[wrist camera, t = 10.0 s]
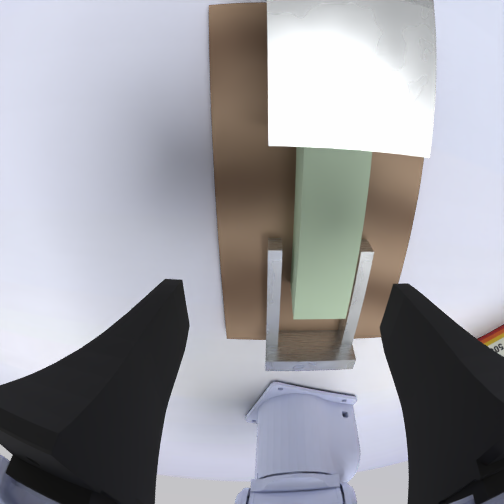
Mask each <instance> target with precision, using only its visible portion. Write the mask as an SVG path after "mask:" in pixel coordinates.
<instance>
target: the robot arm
mask: <svg viewBox="0 0 504 504" xmlns="http://www.w3.org/2000/svg"><path fill="white" fill-rule="evenodd" d="M379 328H380V333H381V338H382V343H383V348H384V353H385V356H386V359H387V362H388V365H389V368H390V371H391V374H392V377H393V380H394V383H395V387H396V390H397V393H398V396H399V399H400V403H401V407H402V411H403V417H404V423H405V430H406V438H407V448H408V463H409V489H408V504H504V357H503V356H502V355H500V354H498V353H497V352H495V351H494V350H492V349H491V348H489V347H488V346H486V345H485V344H483V343H482V342H480V341H479V340H478V339H476V338H475V337H473V336H472V335H471V334H470V333H468V332H467V331H466V330H464V329H463V328H462V327H461V326H459V325H458V324H457V323H456V322H454V321H453V320H452V319H451V318H450V317H448V316H447V315H446V314H445V313H444V312H443V311H441V310H440V309H439V308H438V307H437V306H436V305H434V304H433V303H432V302H431V301H430V300H429V299H427V298H426V297H425V296H424V295H423V294H421V293H420V292H419V291H418V290H416V289H415V288H414V287H412V286H411V285H410V284H393V286H392V289H391V293H390V296H389V299H388V303H387V306H386V309H385V312H384V315H383V318H382V321H381V324H380V327H379ZM188 331H189V319H188V313H187V307H186V301H185V295H184V289H183V282H182V280H174V279H165V280H163V281H162V282H161V283H160V284H159V285H158V286H157V287H156V288H154V289H153V290H152V291H151V292H150V293H149V294H148V295H147V296H146V297H145V298H144V299H142V300H141V301H140V302H139V303H138V304H137V305H136V306H135V307H133V308H132V309H131V310H130V311H129V312H128V313H127V314H126V315H124V316H123V317H122V318H121V319H119V320H118V321H117V322H116V323H114V324H113V325H112V326H111V327H110V328H108V329H107V330H106V331H105V332H103V333H102V334H101V335H99V336H98V337H96V338H95V339H94V340H92V341H91V342H89V343H88V344H86V345H85V346H83V347H82V348H80V349H79V350H77V351H75V352H73V353H72V354H70V355H68V356H66V357H65V358H63V359H61V360H60V361H58V362H56V363H54V364H52V365H50V366H48V367H46V368H44V369H42V370H40V371H37V372H35V373H33V374H31V375H28V376H26V377H23V378H20V379H18V380H15V381H12V382H9V383H6V384H3V385H0V444H1V445H2V446H3V447H4V448H6V449H7V450H8V451H9V452H10V453H11V454H13V456H12V458H11V461H9V460H8V459H6V458H5V457H3V456H2V455H0V504H155V487H156V475H157V465H158V456H159V449H160V442H161V436H162V430H163V424H164V419H165V413H166V409H167V405H168V401H169V398H170V395H171V392H172V389H173V386H174V383H175V379H176V376H177V373H178V370H179V367H180V364H181V361H182V358H183V354H184V351H185V347H186V342H187V336H188ZM356 401H357V398H356V397H354V396H348V395H342V394H336V393H330V392H325V391H319V390H314V389H309V388H304V387H299V386H294V385H289V384H285V383H280V382H273V383H271V384H270V385H269V387H268V388H267V389H266V391H265V392H264V393H263V395H262V396H261V397H260V399H259V400H258V401H257V403H256V404H255V405H254V406H253V408H252V409H251V410H250V412H249V413H248V414H247V415H246V417H245V420H246V421H247V422H251V423H256V424H258V429H257V448H256V467H255V479H252V480H251V488H244V489H243V490H242V491H241V492H240V493H238V495H237V497H236V501H235V504H357V500H356V495H355V491H354V489H353V488H352V487H351V486H350V485H349V484H348V483H347V482H348V481H350V480H351V479H352V477H353V476H354V475H355V473H356V471H357V469H358V466H359V462H360V445H359V438H358V432H357V426H356V420H355V414H354V409H353V404H355V403H356Z"/></svg>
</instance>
